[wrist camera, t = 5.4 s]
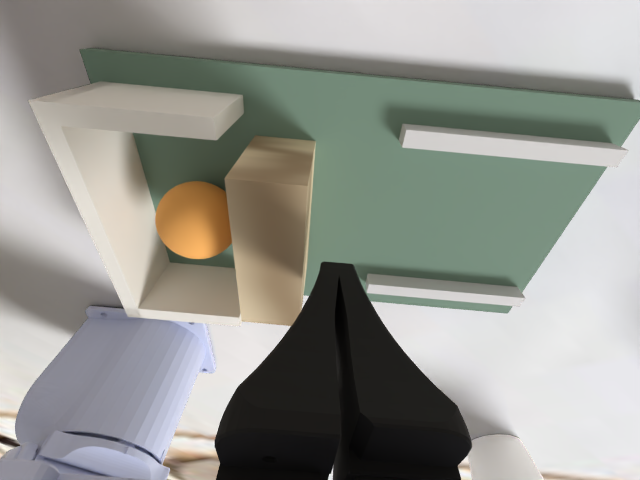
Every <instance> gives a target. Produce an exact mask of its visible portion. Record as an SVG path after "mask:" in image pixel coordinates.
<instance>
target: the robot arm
mask: <svg viewBox="0 0 640 480" xmlns="http://www.w3.org/2000/svg"><path fill="white" fill-rule="evenodd" d="M85 312H86V314H87V316H88V319H87V320H86V321H85V322H84V324H83V325H82V326H81V327H80V328H79V330H78V331H77V332H76V333H75V334H74V336H73V337H72V338H71V339H70V340H69V341H68V343H67V344H66V345H65V346H64V347H63V349H62V350H61V351H60V352H59V353H58V355H57V356H56V357H55V358H54V359H53V361H52V362H51V363H50V364H49V365H48V367H47V368H46V369H45V370H44V371H43V373H42V374H41V375H40V376H39V377H38V379H37V380H36V381H35V382H34V384H33V385H32V386H31V388H30V389H29V391H28V392H27V394H26V396H25V398H24V400H23V402H22V404H21V406H20V409H19V411H18V414H17V418H16V423H15V433H16V437H17V440H18V442H19V444H20V445H21V446H18V447H16V448H13V449H11V450H9V451H7V452H6V453H5V454H4V455H3V456H2V457H1V458H0V480H166V479H167V477H168V474H169V471H170V468H167V467H165V466H163V465H162V464H163V461H164V459H165V456H166V454H167V451H168V449H169V446H170V443H171V441H172V438H173V436H174V433H175V431H176V428H177V426H178V423H179V421H180V418H181V416H182V413H183V411H184V408H185V405H186V403H187V400H188V398H189V395H190V393H191V390H192V388H193V385H194V383H195V380H196V378H197V375H198V373H199V372H203V373H214V372H215V370H216V365H215V360H214V356H213V352H212V347H211V343H210V339H209V334H208V330H207V326H206V324H204V323H193V322H182V321H170V320H159V319H148V318H136V317H128V316H127V314H126V312H125V309H120V308H109V307H98V306H89V307H88V308H87V309H86V310H85ZM215 448H216V452H217V455H218V458H219V461H220V466H219V470H218V474H217V478H216V480H328V477H329V474H331V471H332V467H333V480H461V477H460V473H459V470H458V465H459V464H460V462H461V461H462V460H463V459H464V458H465V457H466V456H467V455H468V454H469V452H470V450H471V448H472V441H471V438H470V435H469V432H468V429H467V427H466V424H465V422H464V420H463V417H462V415H461V413H460V411H459V409H458V407H457V405H456V404H455V403H454V402H452V401H451V400H450V399H449V398H448V397H447V396H446V395H445V394H444V393H443V392H442V391H440V390H439V389H438V388H437V387H436V386H435V385H434V384H433V383H432V382H431V381H430V380H429V379H428V378H427V377H426V376H425V375H424V374H423V373H422V372H421V371H420V369H419V368H418V367H417V366H416V365H415V364H414V363H413V361H412V360H411V359H410V358H409V357H408V356H407V354H406V353H405V352H404V351H403V350H402V349H401V347H400V346H399V345H398V343H397V342H396V341H395V339H394V338H393V337H392V335H391V334H390V333H389V331H388V330H387V328H386V327H385V325H384V324H383V322H382V321H381V319H380V317H379V316H378V314H377V313H376V311H375V309H374V307H373V306H372V304H371V302H370V300H369V298H368V296H367V294H366V292H365V290H364V288H363V286H362V284H361V282H360V279H359V277H358V275H357V272H356V269H355V266H354V265H353V264H348V263H337V262H325V261H323V262H322V263H321V265H320V271H319V274H318V277H317V280H316V282H315V285H314V287H313V289H312V291H311V293H310V296H309V298H308V299H307V301H306V303H305V305H304V307H303V308H302V310H301V312H300V314H299V315H298V317H297V318H296V320H295V322H294V323H293V324H292V326H291V327H290V329H289V330H288V332H287V333H286V334H285V336H284V337H283V338H282V340H281V341H280V342H279V343H278V345H277V346H276V347H275V348H274V350H273V351H272V352H271V353H270V354H269V355H268V356H267V358H266V359H265V360H264V361H263V362H262V363H261V364H260V365H259V366H258V367H257V369H256V370H255V371H254V372H253V373H251V374H250V375H249V376H248V377H247V378H246V379H245V380H244V381H243V382H242V383H241V384H240V385H239V386H238V388H237V389H236V391H235V393H234V394H233V396H232V398H231V400H230V402H229V403H228V405H227V407H226V409H225V412H224V414H223V416H222V419H221V421H220V425H219V428H218V432H217V435H216V438H215ZM333 464H334V466H333Z"/></svg>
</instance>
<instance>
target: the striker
mask: <svg viewBox="0 0 640 480" xmlns="http://www.w3.org/2000/svg"><path fill="white" fill-rule="evenodd" d="M315 145H316V141H310V140H300V139H289V138H278V137H267V136H257V135H255V136H254V138H253V139H252V141H251V142H250V143H249V145H248V146H247V148H246V149H245V150H244V152H243V153H242V155H241V156H240V157H239V159H238V160H237V162H236V163H235V164H234V166H233V167H232V169H231V170H230V171H229V173H228V174H227V176H226V177H225V178H224V179H225V187H226V196H227V204H228V212H229V221H230V229H231V237H232V246H233V254H234V262H235V270H236V279H237V287H238V295H239V304H240V312H241V320H242V321H243V322H254V323H265V324H277V325H288V326H292V324H293V323H294V322H295V320H296V318H297V317H298V315H299V314H300V312H301V310H302V302H303V294H304V286H305V278H306V270H307V261H308V247H309V232H310V218H311V203H312V189H313V174H314V160H315Z"/></svg>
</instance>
